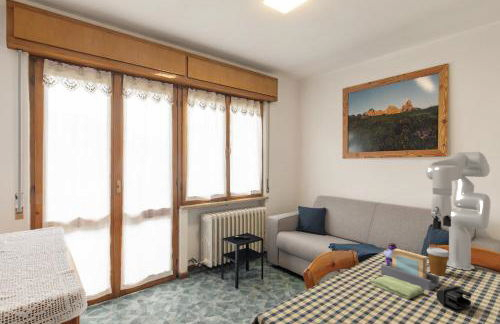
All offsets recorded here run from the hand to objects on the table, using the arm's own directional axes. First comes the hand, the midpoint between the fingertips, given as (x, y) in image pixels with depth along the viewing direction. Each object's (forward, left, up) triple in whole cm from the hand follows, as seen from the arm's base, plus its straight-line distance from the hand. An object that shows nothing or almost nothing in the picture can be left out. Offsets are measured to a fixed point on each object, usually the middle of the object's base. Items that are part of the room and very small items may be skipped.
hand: (442, 227), depth 127 cm
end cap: (+22, +13, -26) cm, 36 cm away
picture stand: (+11, -9, -26) cm, 30 cm away
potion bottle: (0, -24, -26) cm, 35 cm away
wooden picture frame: (+11, -9, -24) cm, 28 cm away
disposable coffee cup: (-10, -5, -26) cm, 28 cm away
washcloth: (+27, -7, -26) cm, 38 cm away
